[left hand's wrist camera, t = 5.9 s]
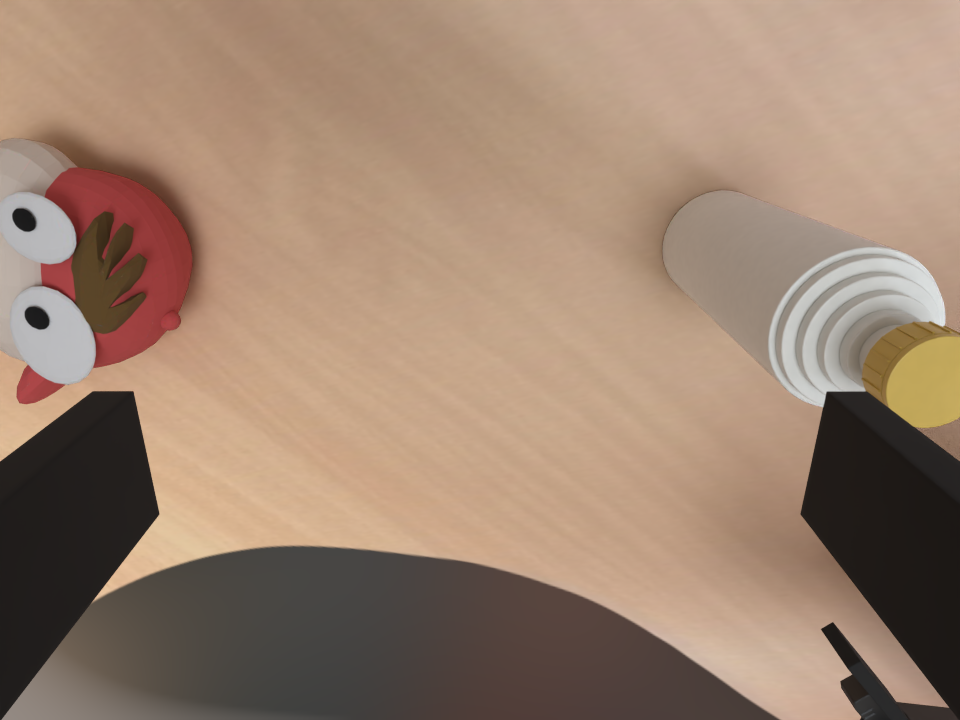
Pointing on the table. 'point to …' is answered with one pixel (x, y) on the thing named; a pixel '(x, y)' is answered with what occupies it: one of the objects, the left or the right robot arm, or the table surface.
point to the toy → (82, 267)
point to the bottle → (795, 288)
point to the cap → (916, 373)
